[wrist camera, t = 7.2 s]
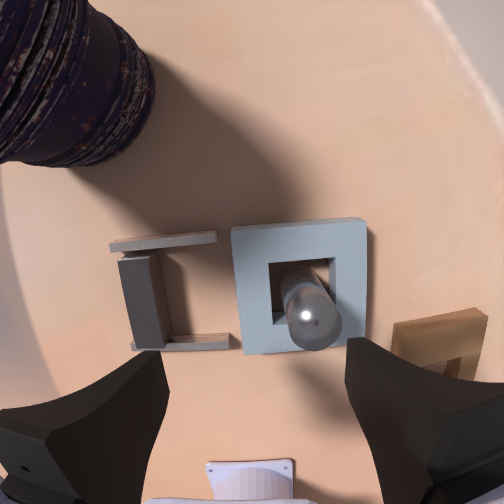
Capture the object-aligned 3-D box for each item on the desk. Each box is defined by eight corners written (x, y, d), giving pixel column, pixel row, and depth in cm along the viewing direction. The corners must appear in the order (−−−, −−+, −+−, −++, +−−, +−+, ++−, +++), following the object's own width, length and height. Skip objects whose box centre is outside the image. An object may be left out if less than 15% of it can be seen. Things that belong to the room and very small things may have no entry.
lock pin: (322, 295, 21) (347, 340, 15) (285, 307, 22) (297, 357, 15) (312, 260, 21) (335, 294, 15) (274, 272, 21) (282, 312, 15)
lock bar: (172, 332, 22) (164, 348, 20) (146, 332, 22) (136, 348, 20) (158, 249, 21) (147, 258, 18) (131, 252, 21) (117, 260, 18)
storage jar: (19, 126, 19) (-135, 114, 4) (91, 20, 17) (-30, -76, 2) (101, 196, 20) (-85, 235, 5) (187, 75, 18) (83, -72, 4)
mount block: (453, 401, 24) (462, 413, 22) (380, 421, 24) (386, 435, 22) (475, 307, 22) (488, 316, 20) (393, 323, 22) (404, 335, 20)
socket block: (356, 329, 22) (364, 341, 20) (244, 340, 22) (243, 355, 20) (356, 217, 20) (366, 221, 18) (232, 226, 20) (230, 231, 19)
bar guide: (230, 340, 22) (229, 348, 21) (137, 343, 22) (132, 351, 21) (216, 229, 21) (214, 232, 19) (116, 240, 21) (109, 243, 20)
